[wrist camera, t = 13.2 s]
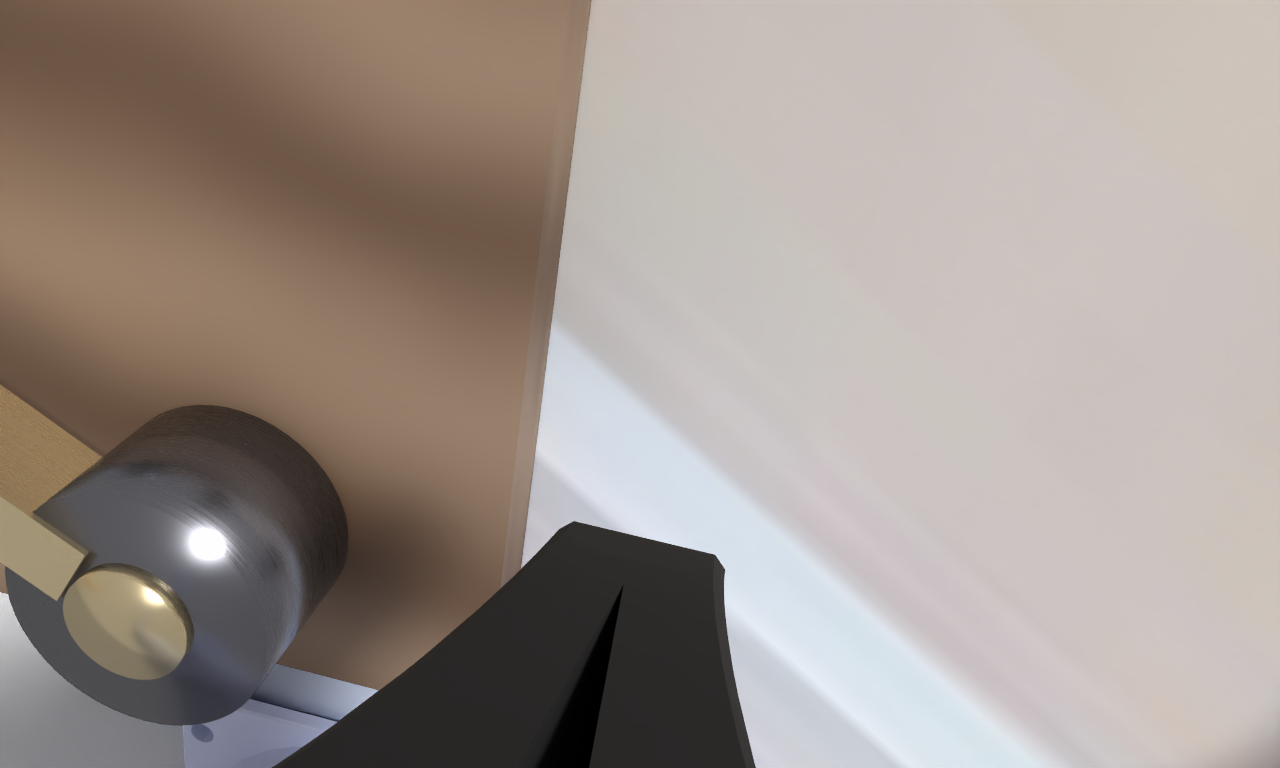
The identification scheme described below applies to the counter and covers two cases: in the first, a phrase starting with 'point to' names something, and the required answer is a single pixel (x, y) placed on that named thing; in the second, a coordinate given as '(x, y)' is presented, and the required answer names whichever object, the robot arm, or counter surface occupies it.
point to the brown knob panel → (304, 261)
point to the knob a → (165, 555)
